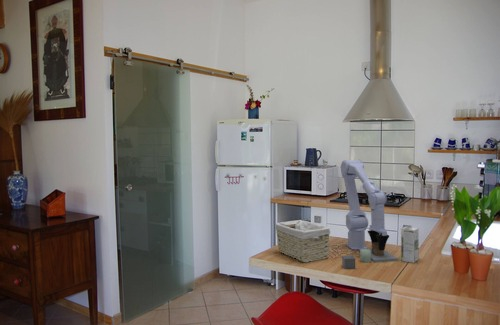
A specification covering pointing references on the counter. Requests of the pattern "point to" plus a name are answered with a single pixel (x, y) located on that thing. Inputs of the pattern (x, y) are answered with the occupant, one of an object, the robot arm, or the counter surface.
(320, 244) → the storage basket
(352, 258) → the charcoal cube
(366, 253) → the sage cylinder
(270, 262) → the counter surface
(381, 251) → the walnut block
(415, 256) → the syrup box
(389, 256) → the slate mat
